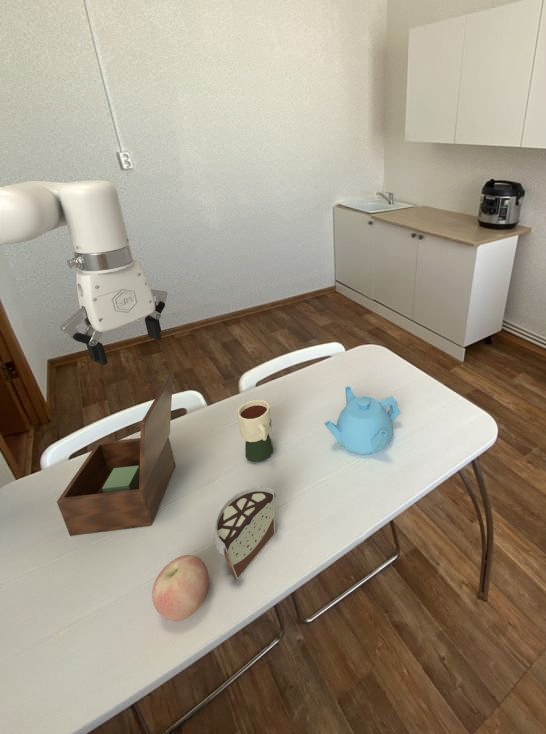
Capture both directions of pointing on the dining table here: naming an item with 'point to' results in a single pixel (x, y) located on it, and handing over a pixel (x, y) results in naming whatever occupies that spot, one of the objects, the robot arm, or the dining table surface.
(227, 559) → the slice of cake
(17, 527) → the dining table surface
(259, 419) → the character mug
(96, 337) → the robot arm
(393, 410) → the teapot
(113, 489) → the block
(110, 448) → the chest
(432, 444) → the dining table surface
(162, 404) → the lid
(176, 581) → the apple
